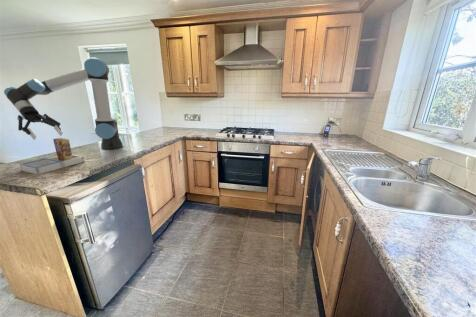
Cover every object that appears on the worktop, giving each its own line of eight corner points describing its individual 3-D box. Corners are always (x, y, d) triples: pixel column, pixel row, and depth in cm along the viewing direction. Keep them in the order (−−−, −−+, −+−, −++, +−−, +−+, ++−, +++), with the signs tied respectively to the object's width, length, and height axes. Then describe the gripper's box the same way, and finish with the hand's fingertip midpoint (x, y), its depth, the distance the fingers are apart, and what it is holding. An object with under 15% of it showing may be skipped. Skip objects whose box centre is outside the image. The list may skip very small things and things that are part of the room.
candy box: (74, 163, 122) (69, 139, 118) (66, 165, 118) (60, 140, 114) (66, 160, 126) (60, 137, 121) (58, 162, 122) (52, 138, 117)
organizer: (69, 158, 130) (68, 152, 128) (84, 161, 125) (83, 155, 124) (21, 170, 108) (19, 163, 107) (37, 174, 104) (35, 167, 102)
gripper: (49, 112, 133) (69, 136, 133) (-4, 115, 110) (20, 143, 110) (52, 105, 130) (73, 129, 130) (-1, 106, 107) (23, 135, 107)
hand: (49, 136), depth 120 cm, fingers open, 13 cm apart
